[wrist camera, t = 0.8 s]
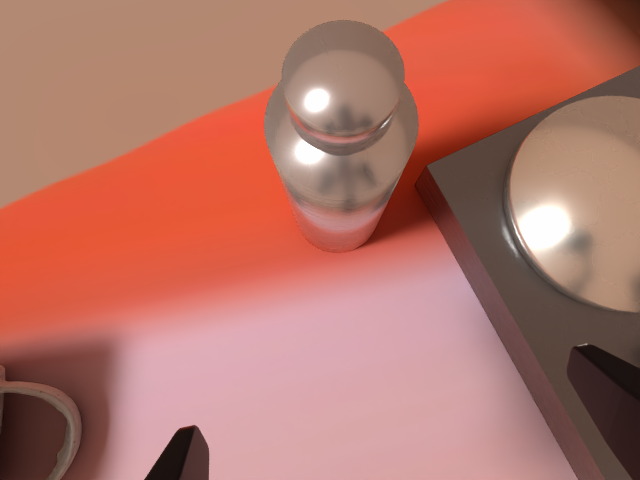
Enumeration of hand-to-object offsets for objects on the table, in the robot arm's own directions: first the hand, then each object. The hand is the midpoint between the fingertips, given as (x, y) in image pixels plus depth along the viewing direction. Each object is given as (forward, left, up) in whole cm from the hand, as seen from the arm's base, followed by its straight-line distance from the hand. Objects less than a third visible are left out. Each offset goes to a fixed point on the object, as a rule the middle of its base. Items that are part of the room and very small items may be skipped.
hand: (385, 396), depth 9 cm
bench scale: (-3, -15, -13) cm, 20 cm away
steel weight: (+8, -3, -13) cm, 15 cm away
